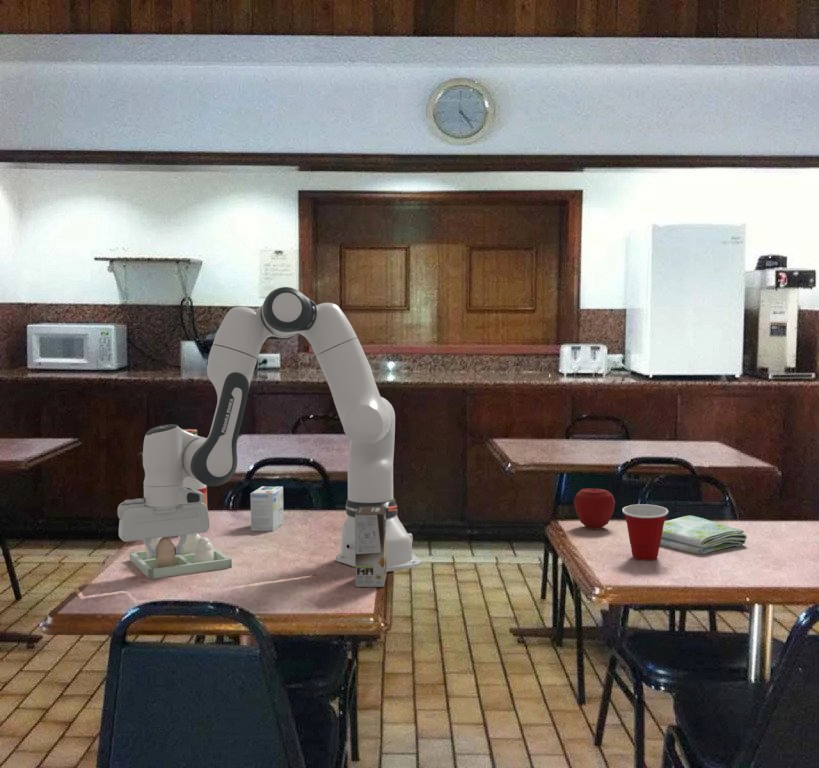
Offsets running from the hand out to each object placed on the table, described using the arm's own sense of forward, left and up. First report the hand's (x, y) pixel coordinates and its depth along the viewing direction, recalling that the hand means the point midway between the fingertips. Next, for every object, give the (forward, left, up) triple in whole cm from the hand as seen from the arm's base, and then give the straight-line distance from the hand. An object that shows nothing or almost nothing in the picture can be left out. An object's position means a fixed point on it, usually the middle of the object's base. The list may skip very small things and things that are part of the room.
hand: (165, 555), depth 216 cm
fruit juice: (+41, -18, -4) cm, 45 cm away
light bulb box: (+34, -38, -4) cm, 51 cm away
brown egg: (0, 0, -2) cm, 2 cm away
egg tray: (+4, -5, -4) cm, 7 cm away
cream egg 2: (+9, -9, -3) cm, 13 cm away
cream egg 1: (+9, 0, -3) cm, 10 cm away
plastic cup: (-46, -104, -4) cm, 113 cm away
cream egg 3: (0, -9, -3) cm, 10 cm away
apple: (-14, -115, -4) cm, 116 cm away
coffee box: (-31, -38, -4) cm, 49 cm away
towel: (-40, -125, -5) cm, 131 cm away
